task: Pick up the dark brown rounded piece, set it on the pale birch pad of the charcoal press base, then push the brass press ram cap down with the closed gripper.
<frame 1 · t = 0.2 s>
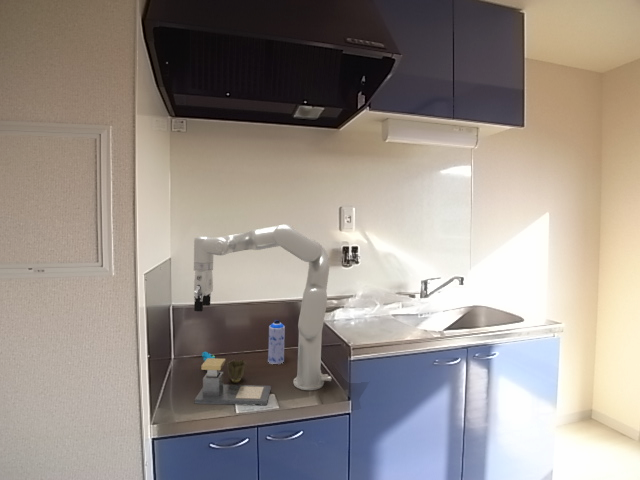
hand: (202, 308, 143), 30 cm above the worktop, tool pointing down, fingers open, 9 cm apart
press ram: (213, 372, 132), point 9 cm above the worktop, slide at 0.0 cm
press base: (234, 396, 133), on the worktop
dark brown rounded piece: (236, 382, 145), on the worktop
aerosol can: (276, 361, 167), on the worktop
gear: (210, 369, 156), on the worktop
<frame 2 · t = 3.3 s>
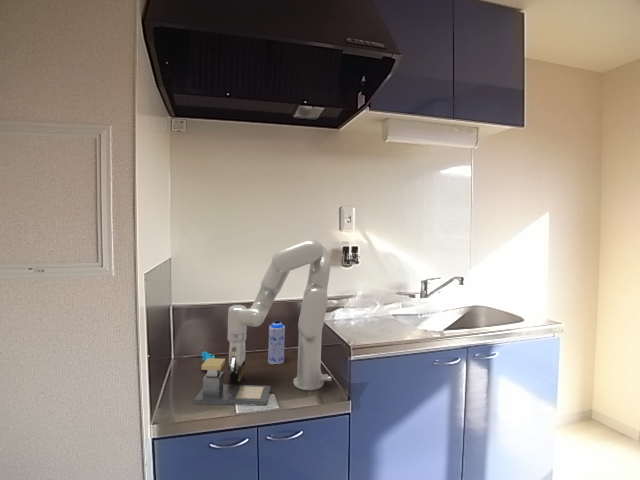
hand: (236, 377, 145), 2 cm above the worktop, tool pointing down, fingers closed on dark brown rounded piece, 6 cm apart
dark brown rounded piece: (236, 382, 145), on the worktop, touching gripper
everything else where it was.
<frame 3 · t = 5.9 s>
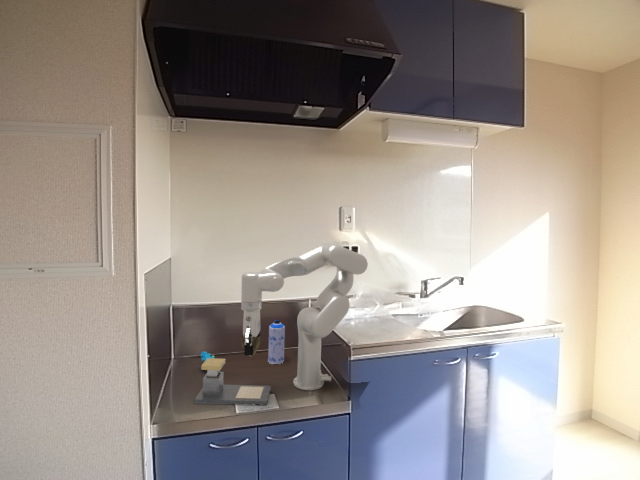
hand: (250, 350, 133), 17 cm above the worktop, tool pointing down, fingers closed on dark brown rounded piece, 6 cm apart
dark brown rounded piece: (250, 355, 133), point 16 cm above the worktop, touching gripper
everything else where it was.
when the fingers open (5 cm above the worktop, at t = 9.0 s): dark brown rounded piece drops 1 cm, resting on press base.
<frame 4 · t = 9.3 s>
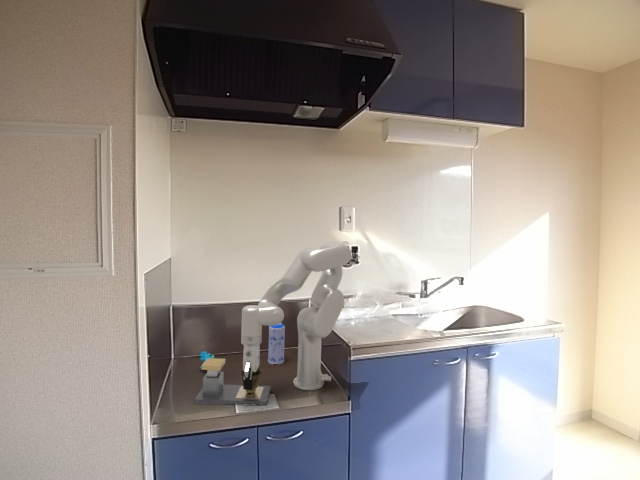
hand: (250, 383, 133), 5 cm above the worktop, tool pointing down, fingers open, 9 cm apart
dark brown rounded piece: (250, 392, 133), point 2 cm above the worktop, touching press base
everything else where it was.
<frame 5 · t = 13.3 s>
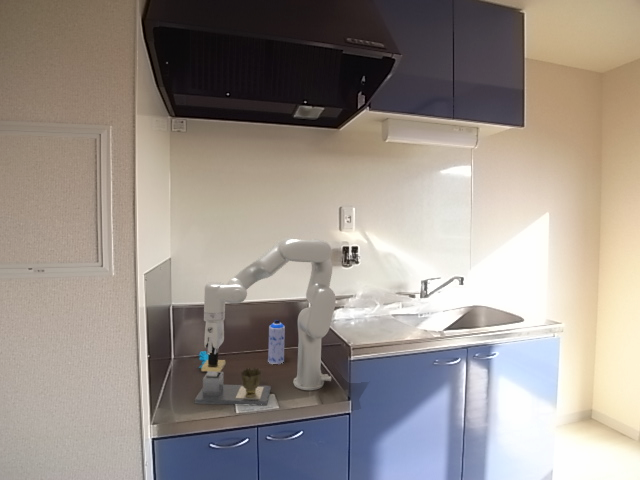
hand: (213, 363, 132), 12 cm above the worktop, tool pointing down, fingers closed
press ram: (213, 373, 132), point 8 cm above the worktop, slide at 0.6 cm, touching gripper
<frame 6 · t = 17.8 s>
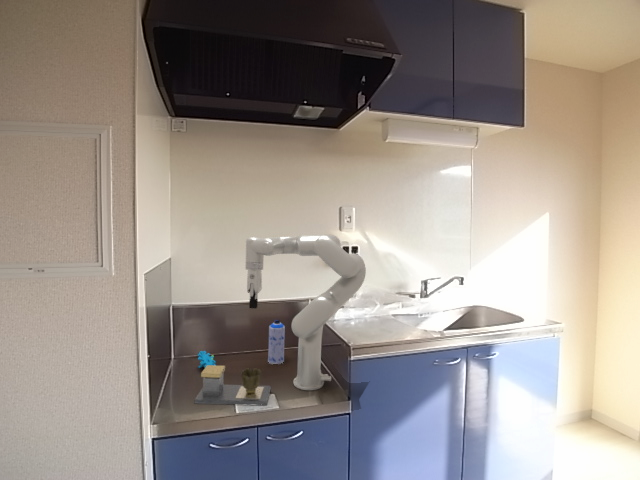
hand: (253, 307, 151), 29 cm above the worktop, tool pointing down, fingers closed
press ram: (213, 379, 132), point 6 cm above the worktop, slide at 2.8 cm
at the end: dark brown rounded piece inside the target area on the press base (0.2 cm from its centre), point 1.5 cm above the press base's base; dark brown rounded piece tilted 0°; press ram slide at 2.8 cm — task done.
